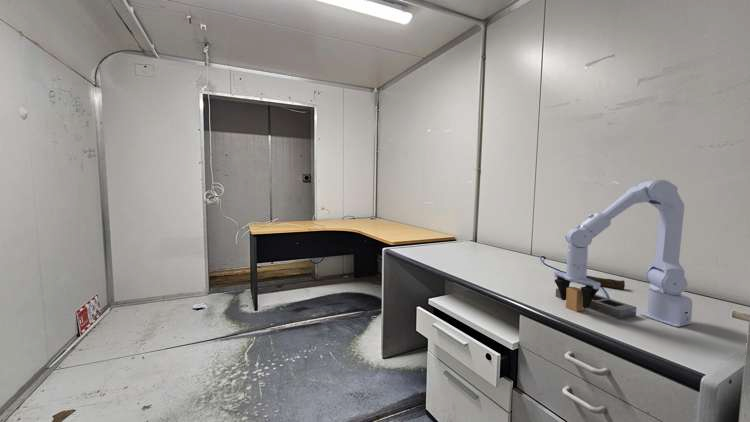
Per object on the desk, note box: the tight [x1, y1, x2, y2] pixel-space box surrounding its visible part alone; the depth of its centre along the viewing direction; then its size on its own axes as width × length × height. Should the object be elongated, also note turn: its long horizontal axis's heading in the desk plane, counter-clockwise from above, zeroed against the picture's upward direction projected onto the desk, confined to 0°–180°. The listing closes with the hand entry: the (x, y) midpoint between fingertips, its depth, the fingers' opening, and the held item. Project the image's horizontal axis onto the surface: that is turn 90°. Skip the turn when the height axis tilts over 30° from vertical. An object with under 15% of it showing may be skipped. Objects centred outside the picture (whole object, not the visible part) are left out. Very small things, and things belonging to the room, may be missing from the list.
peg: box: [565, 286, 584, 312], centre depth 102 cm, size 4×4×7 cm
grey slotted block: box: [555, 286, 637, 320], centre depth 105 cm, size 22×8×3 cm, turn 21°
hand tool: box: [586, 275, 626, 291], centre depth 128 cm, size 19×4×5 cm, turn 50°
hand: (574, 303), depth 102 cm, fingers open, 7 cm apart
